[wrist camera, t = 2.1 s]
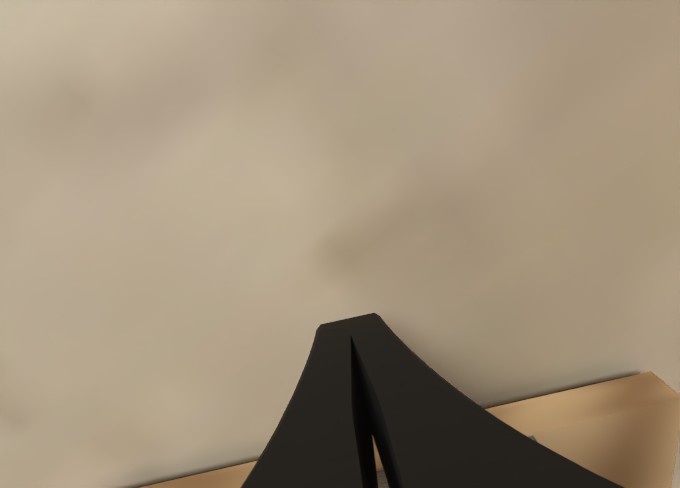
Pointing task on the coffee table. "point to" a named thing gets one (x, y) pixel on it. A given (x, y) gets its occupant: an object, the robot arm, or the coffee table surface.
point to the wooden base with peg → (569, 433)
